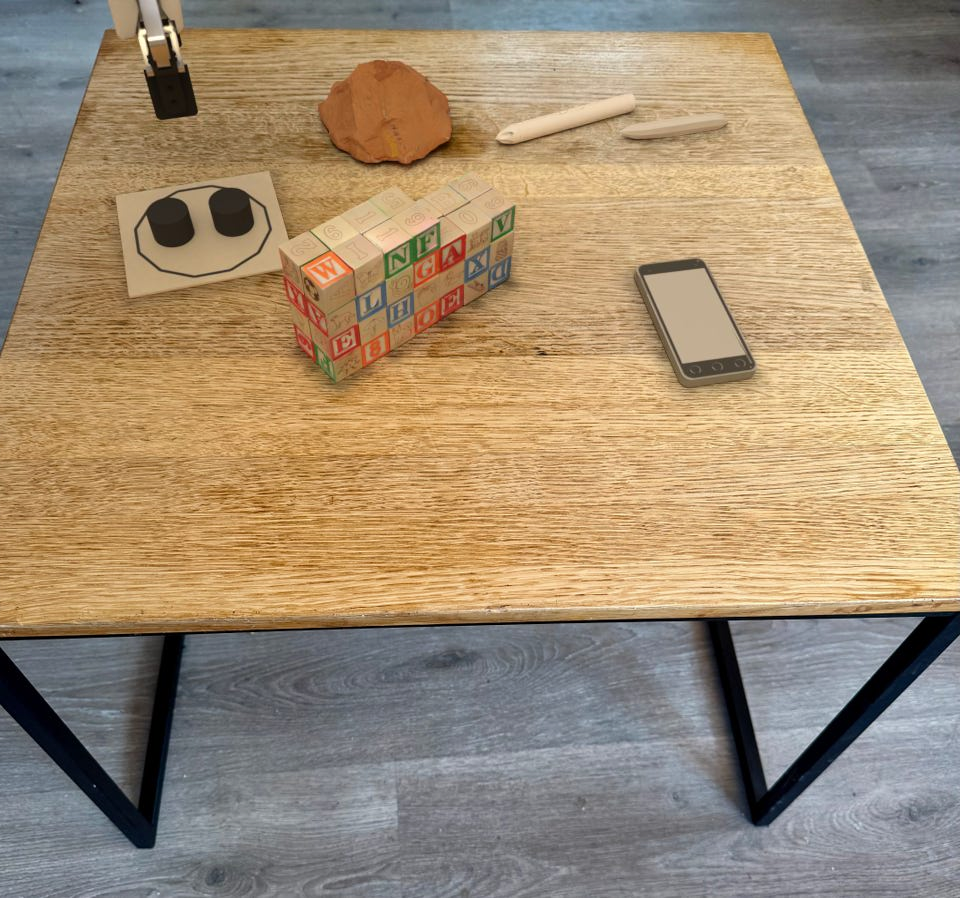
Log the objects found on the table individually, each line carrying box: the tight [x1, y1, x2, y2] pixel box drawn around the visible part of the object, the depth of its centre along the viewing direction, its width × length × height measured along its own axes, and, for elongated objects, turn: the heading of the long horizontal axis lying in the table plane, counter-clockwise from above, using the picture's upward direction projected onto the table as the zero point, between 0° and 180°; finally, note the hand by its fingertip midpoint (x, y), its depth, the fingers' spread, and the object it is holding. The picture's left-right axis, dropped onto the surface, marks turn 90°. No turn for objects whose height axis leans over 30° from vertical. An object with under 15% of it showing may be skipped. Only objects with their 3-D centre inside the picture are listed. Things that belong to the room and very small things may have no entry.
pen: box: [618, 112, 729, 140], centre depth 101 cm, size 2×14×2 cm, turn 107°
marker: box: [495, 92, 637, 145], centre depth 100 cm, size 18×2×2 cm, turn 116°
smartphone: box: [633, 257, 758, 388], centre depth 84 cm, size 7×1×15 cm
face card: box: [114, 170, 290, 299], centre depth 89 cm, size 16×15×1 cm
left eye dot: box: [146, 198, 195, 248], centre depth 87 cm, size 4×4×3 cm
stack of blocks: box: [279, 171, 516, 383], centre depth 79 cm, size 21×6×12 cm, turn 131°
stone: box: [317, 59, 453, 165], centre depth 97 cm, size 15×15×10 cm
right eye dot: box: [208, 188, 254, 237], centre depth 88 cm, size 4×4×3 cm
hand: (170, 80), depth 71 cm, fingers open, 9 cm apart
